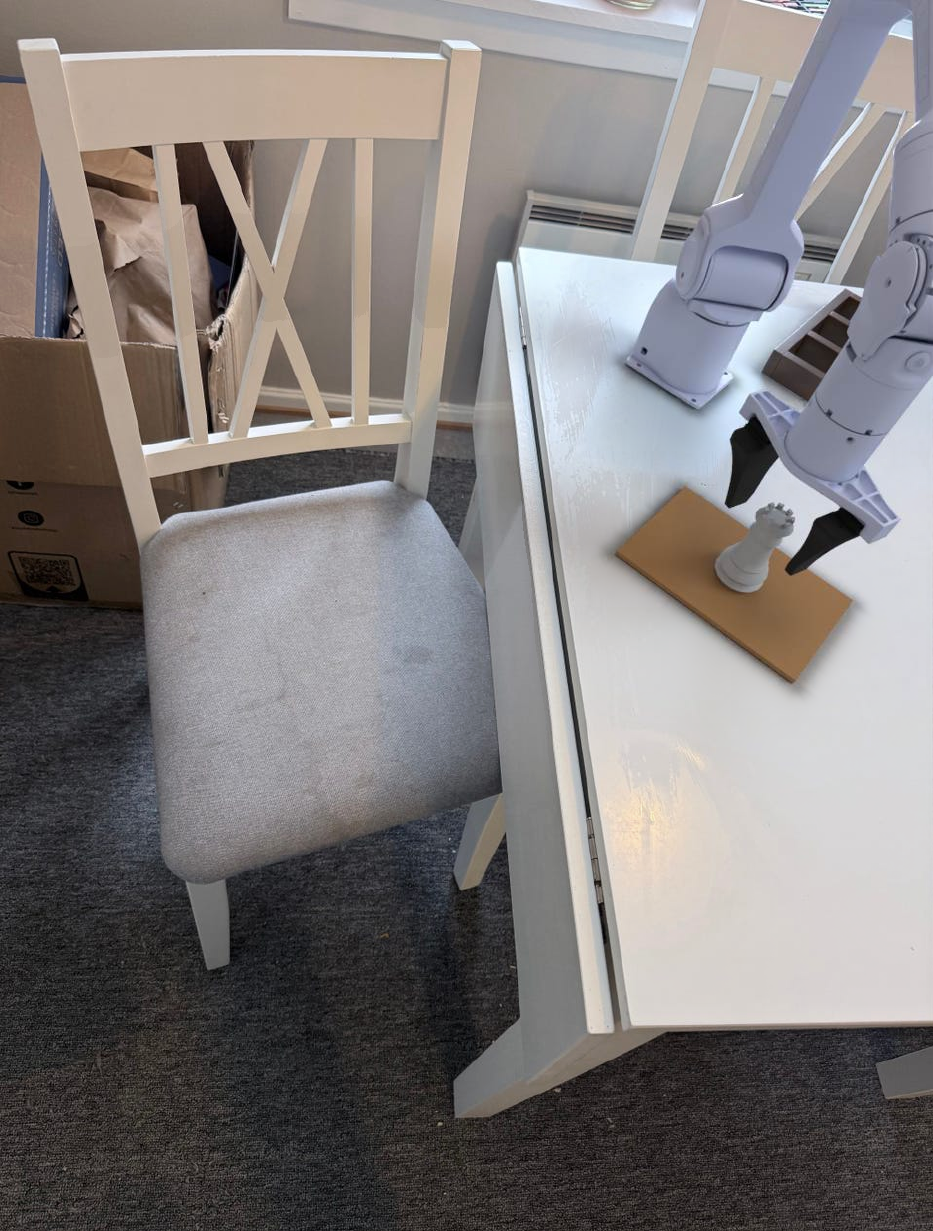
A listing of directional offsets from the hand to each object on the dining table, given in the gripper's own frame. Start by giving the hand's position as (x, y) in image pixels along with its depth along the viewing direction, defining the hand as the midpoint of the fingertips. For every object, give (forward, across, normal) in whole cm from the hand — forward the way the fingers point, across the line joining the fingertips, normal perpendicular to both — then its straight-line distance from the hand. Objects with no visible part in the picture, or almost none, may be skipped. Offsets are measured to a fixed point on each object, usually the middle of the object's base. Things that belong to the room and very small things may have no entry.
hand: (764, 535), depth 69 cm
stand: (+6, +21, -34) cm, 40 cm away
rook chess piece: (+6, 0, 0) cm, 6 cm away
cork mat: (+6, 0, 0) cm, 6 cm away
